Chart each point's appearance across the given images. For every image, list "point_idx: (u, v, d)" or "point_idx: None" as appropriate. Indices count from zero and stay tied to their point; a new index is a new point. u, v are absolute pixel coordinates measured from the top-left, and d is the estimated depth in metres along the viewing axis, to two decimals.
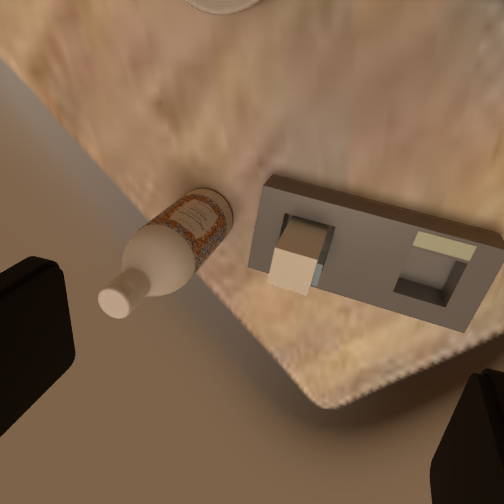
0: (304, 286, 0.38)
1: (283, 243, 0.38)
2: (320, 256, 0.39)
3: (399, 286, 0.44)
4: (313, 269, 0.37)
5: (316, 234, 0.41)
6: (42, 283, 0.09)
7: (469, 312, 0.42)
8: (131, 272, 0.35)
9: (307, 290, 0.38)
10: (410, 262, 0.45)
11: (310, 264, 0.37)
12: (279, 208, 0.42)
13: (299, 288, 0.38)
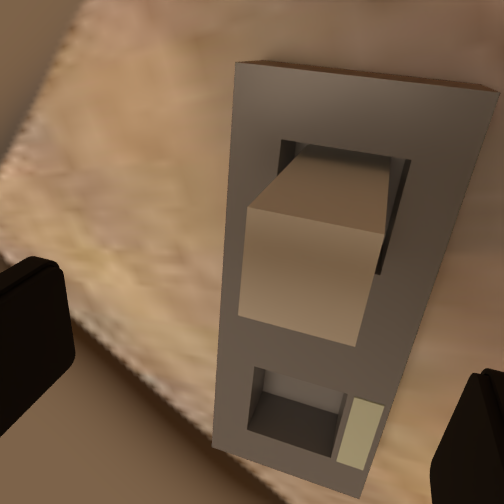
0: (264, 310, 0.14)
1: None
2: None
3: None
4: (323, 335, 0.13)
5: None
6: (42, 283, 0.09)
7: (247, 454, 0.27)
8: None
9: (254, 316, 0.14)
10: None
11: (337, 329, 0.13)
12: (424, 145, 0.16)
13: (255, 297, 0.14)
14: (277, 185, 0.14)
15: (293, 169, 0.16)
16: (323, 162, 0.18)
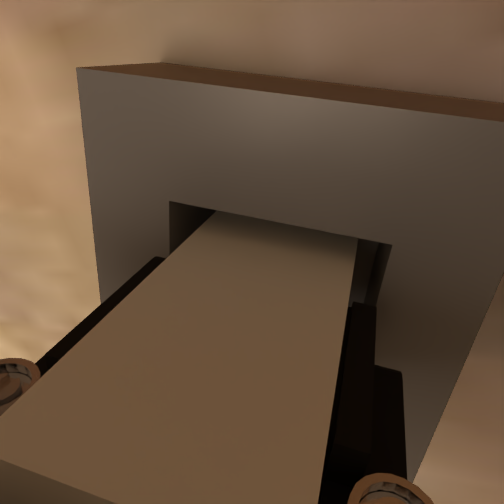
0: None
1: None
2: None
3: None
4: None
5: None
6: None
7: None
8: None
9: None
10: None
11: None
12: (416, 221, 0.09)
13: None
14: (111, 329, 0.07)
15: (175, 266, 0.09)
16: (242, 240, 0.10)
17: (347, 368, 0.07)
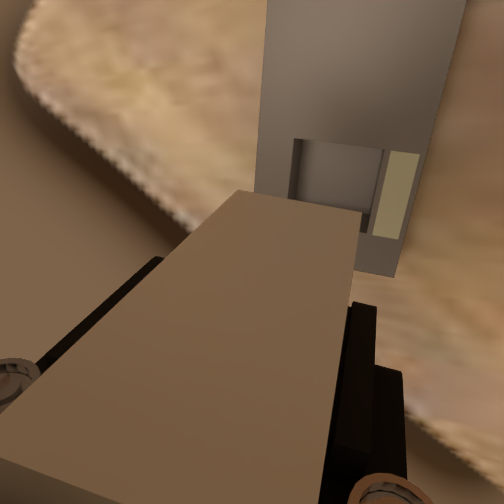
0: None
1: None
2: None
3: (297, 145, 0.27)
4: None
5: None
6: None
7: None
8: None
9: None
10: (333, 150, 0.28)
11: None
12: None
13: None
14: (110, 327, 0.07)
15: (175, 265, 0.09)
16: (242, 239, 0.10)
17: (347, 368, 0.07)
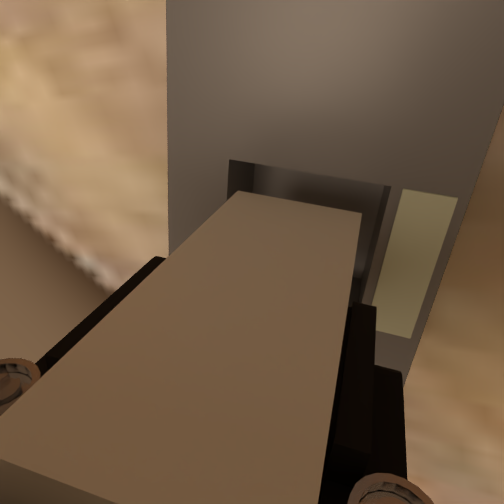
0: None
1: None
2: None
3: (241, 168, 0.16)
4: None
5: None
6: None
7: None
8: None
9: None
10: (304, 176, 0.17)
11: None
12: None
13: None
14: (111, 329, 0.07)
15: (175, 266, 0.09)
16: (242, 240, 0.10)
17: (347, 368, 0.07)
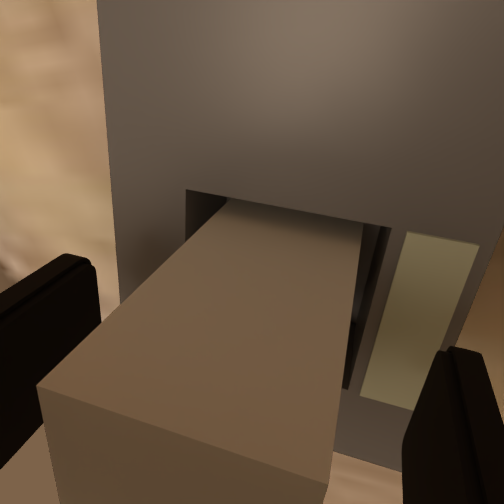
0: None
1: None
2: None
3: (206, 197, 0.13)
4: None
5: None
6: (77, 279, 0.09)
7: None
8: None
9: None
10: None
11: None
12: None
13: None
14: (145, 296, 0.08)
15: (197, 246, 0.10)
16: (256, 225, 0.11)
17: (478, 440, 0.06)
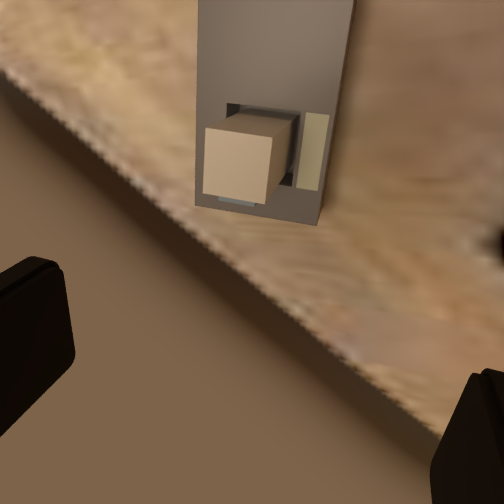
0: (216, 188, 0.25)
1: (275, 143, 0.24)
2: None
3: (232, 111, 0.31)
4: (248, 199, 0.25)
5: (282, 168, 0.29)
6: (42, 283, 0.09)
7: (224, 204, 0.33)
8: None
9: (211, 192, 0.25)
10: None
11: (255, 194, 0.25)
12: None
13: (211, 180, 0.25)
14: (223, 122, 0.26)
15: (234, 117, 0.28)
16: (253, 115, 0.29)
17: None
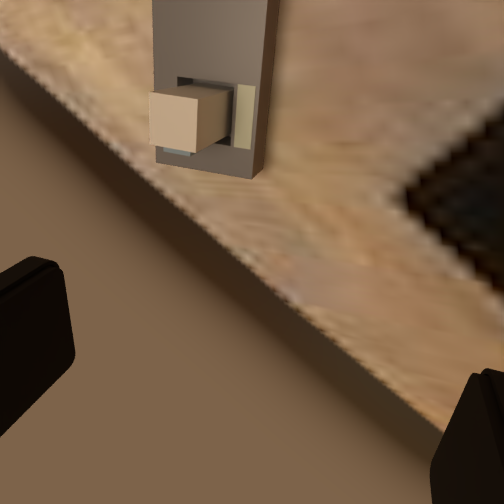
0: (160, 140, 0.33)
1: (203, 105, 0.32)
2: None
3: (184, 84, 0.38)
4: (183, 149, 0.32)
5: (219, 129, 0.36)
6: (42, 283, 0.09)
7: (179, 161, 0.40)
8: None
9: (156, 144, 0.33)
10: None
11: (188, 145, 0.32)
12: None
13: (155, 134, 0.32)
14: (167, 89, 0.33)
15: (180, 87, 0.35)
16: (198, 87, 0.36)
17: None
